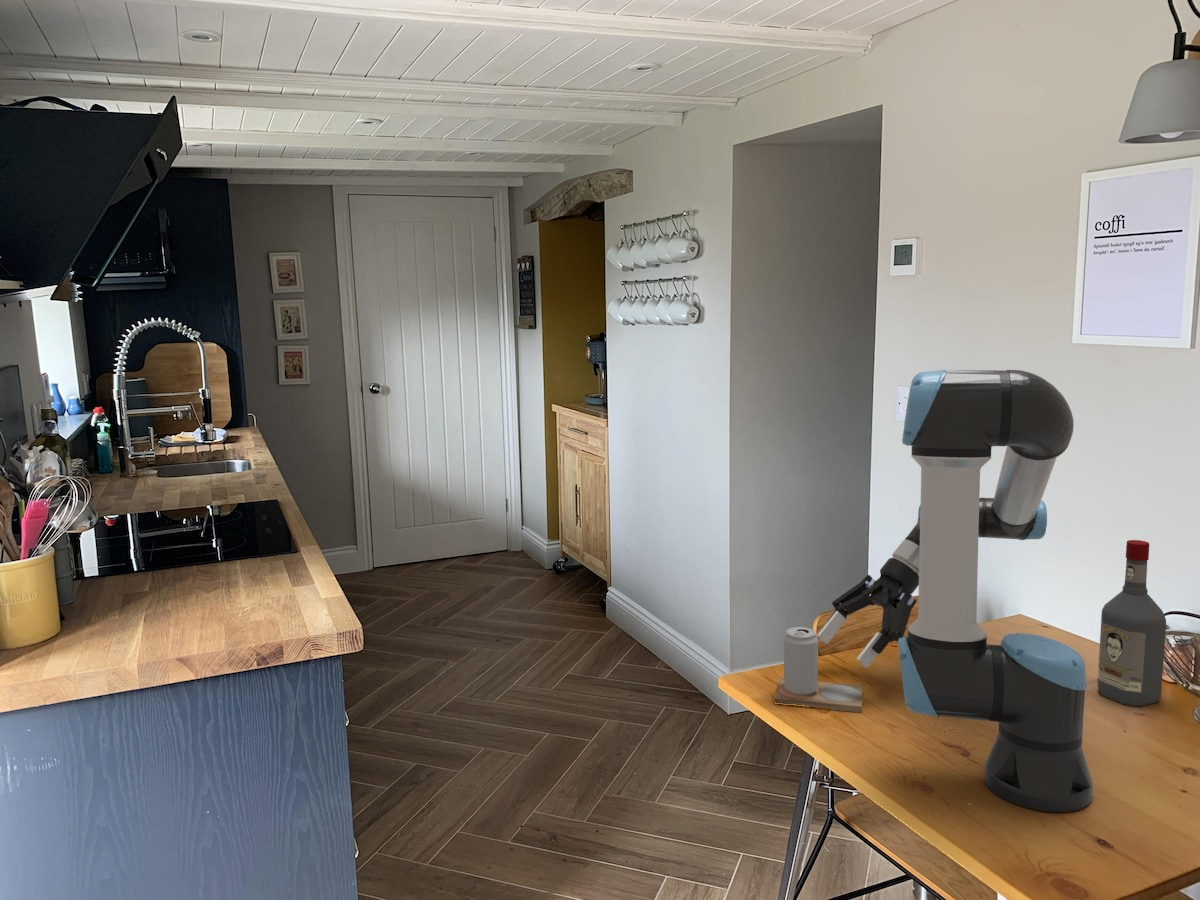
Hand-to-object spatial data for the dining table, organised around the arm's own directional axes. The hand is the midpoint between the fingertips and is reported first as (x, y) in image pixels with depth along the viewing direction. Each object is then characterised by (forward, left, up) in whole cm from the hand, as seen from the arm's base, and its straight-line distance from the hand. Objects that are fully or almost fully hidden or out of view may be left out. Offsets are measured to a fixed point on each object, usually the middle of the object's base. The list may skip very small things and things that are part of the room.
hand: (840, 651), depth 179 cm
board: (-5, +4, -8) cm, 10 cm away
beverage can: (-6, +7, -6) cm, 12 cm away
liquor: (+9, -53, -8) cm, 54 cm away
